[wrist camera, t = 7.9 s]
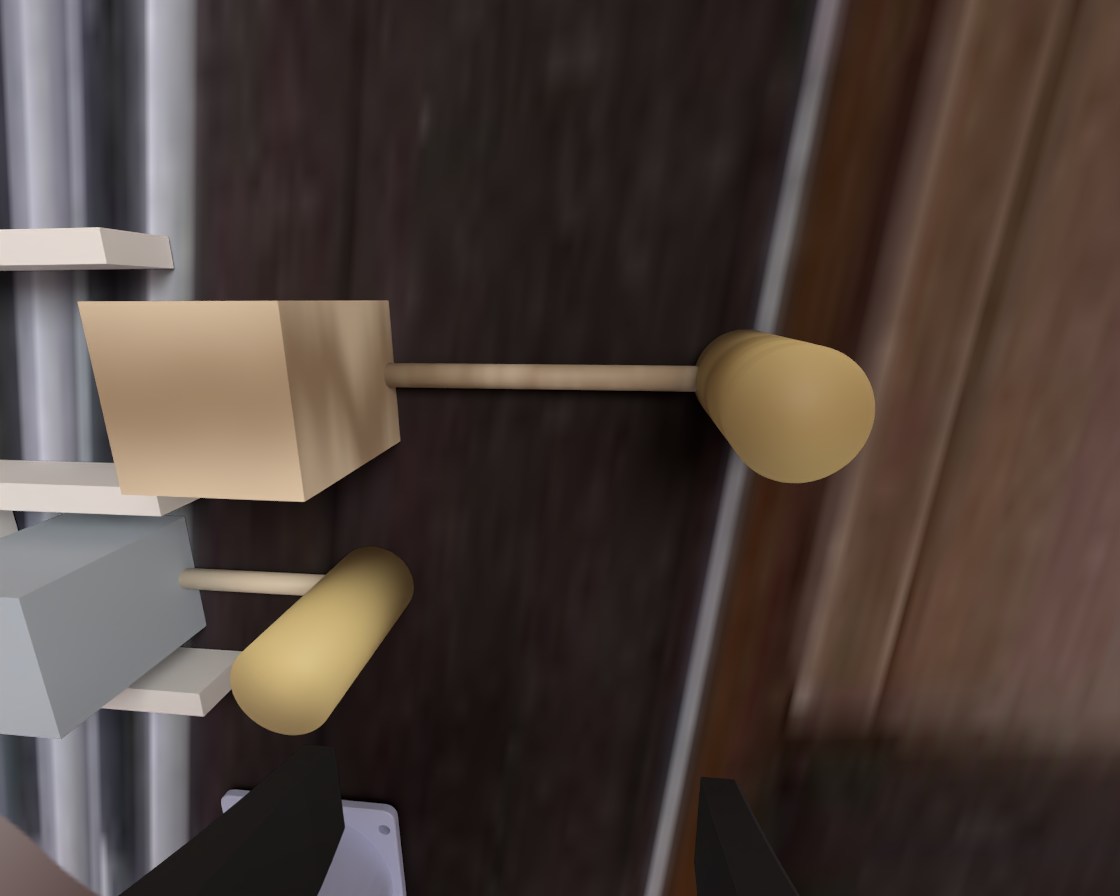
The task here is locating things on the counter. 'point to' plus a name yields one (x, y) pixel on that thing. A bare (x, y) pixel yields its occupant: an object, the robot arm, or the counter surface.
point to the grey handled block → (173, 622)
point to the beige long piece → (371, 403)
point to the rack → (106, 466)
